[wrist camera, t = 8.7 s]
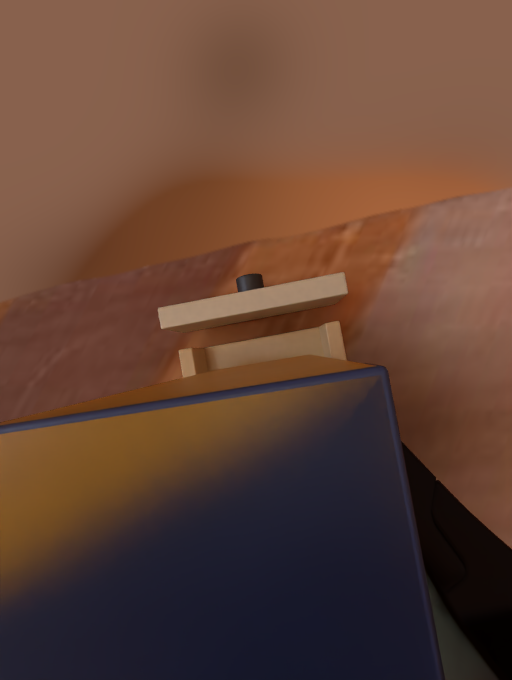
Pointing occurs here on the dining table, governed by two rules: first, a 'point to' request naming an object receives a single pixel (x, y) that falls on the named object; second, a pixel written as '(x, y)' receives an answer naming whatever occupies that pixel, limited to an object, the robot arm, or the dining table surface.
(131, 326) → the dining table surface
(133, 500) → the carton
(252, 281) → the drawer
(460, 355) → the dining table surface
